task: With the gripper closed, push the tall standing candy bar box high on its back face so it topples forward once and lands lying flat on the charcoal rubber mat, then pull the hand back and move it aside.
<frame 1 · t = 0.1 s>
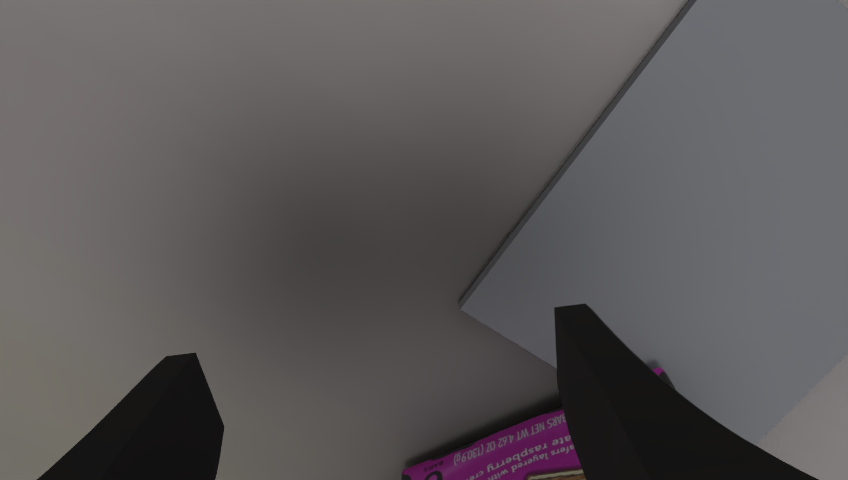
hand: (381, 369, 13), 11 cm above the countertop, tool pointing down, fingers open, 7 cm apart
candy bar box: (544, 452, 27), on the countertop, touching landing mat
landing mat: (730, 234, 24), on the countertop
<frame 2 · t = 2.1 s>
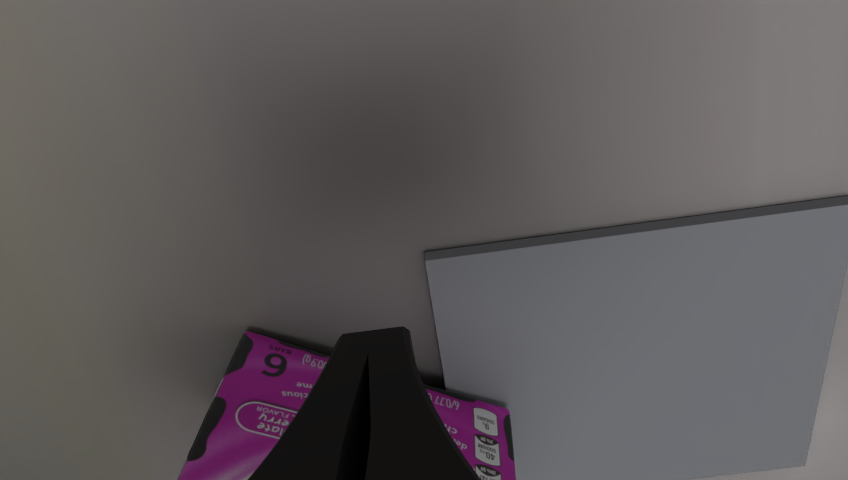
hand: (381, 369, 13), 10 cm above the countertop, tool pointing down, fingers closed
candy bar box: (363, 401, 27), on the countertop, touching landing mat
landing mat: (631, 364, 27), on the countertop
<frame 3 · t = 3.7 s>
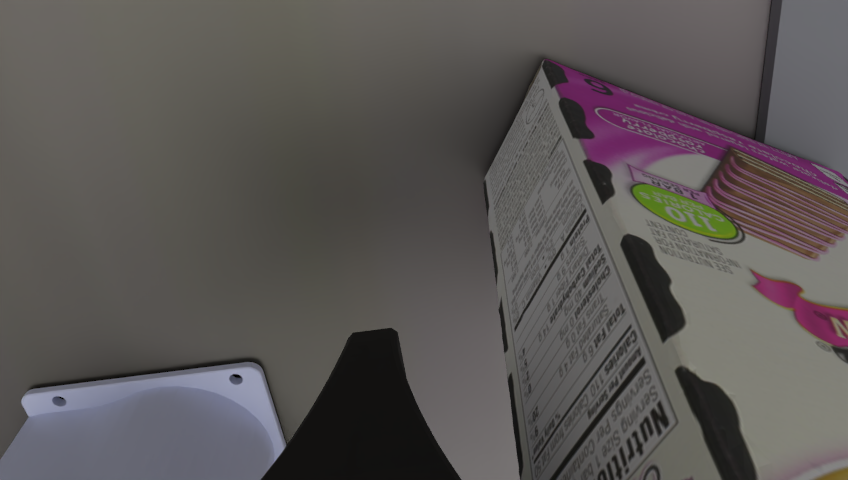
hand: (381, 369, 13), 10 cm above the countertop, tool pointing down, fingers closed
candy bar box: (656, 168, 23), on the countertop, touching gripper, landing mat
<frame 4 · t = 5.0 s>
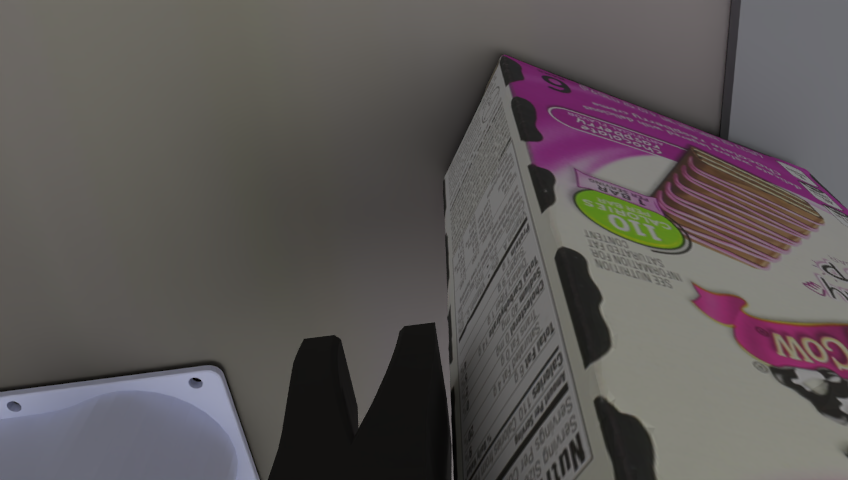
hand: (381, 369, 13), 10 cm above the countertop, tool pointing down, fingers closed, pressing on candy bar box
candy bar box: (621, 166, 22), point 1 cm above the countertop, touching gripper, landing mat
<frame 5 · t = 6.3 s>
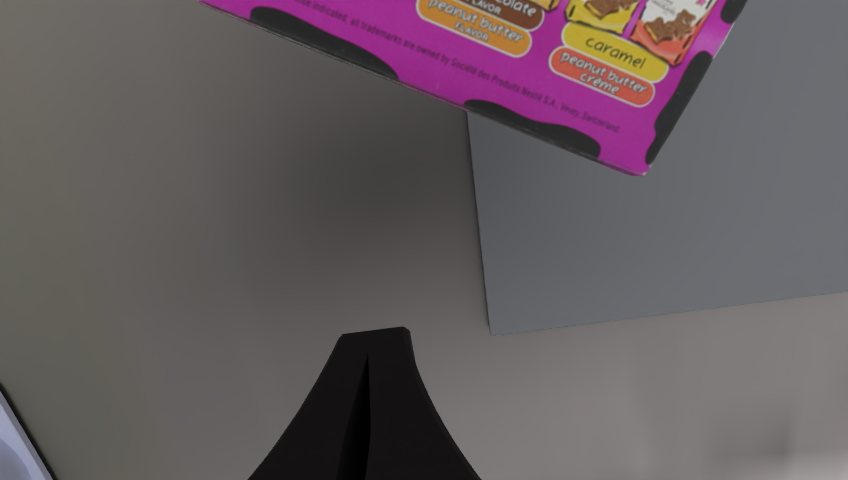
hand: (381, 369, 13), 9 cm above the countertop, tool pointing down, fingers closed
candy bar box: (419, 81, 17), point 3 cm above the countertop, touching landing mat
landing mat: (707, 133, 21), on the countertop
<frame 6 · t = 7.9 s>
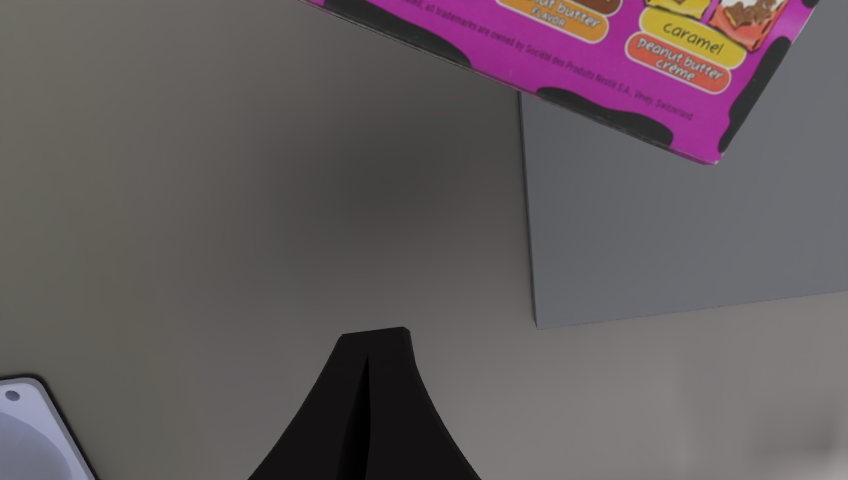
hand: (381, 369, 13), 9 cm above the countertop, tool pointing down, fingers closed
candy bar box: (482, 70, 17), point 3 cm above the countertop, touching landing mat
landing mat: (762, 123, 21), on the countertop
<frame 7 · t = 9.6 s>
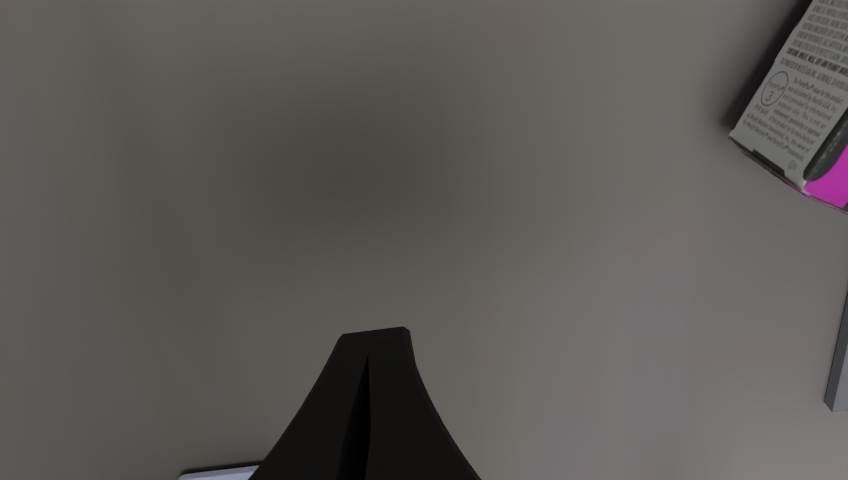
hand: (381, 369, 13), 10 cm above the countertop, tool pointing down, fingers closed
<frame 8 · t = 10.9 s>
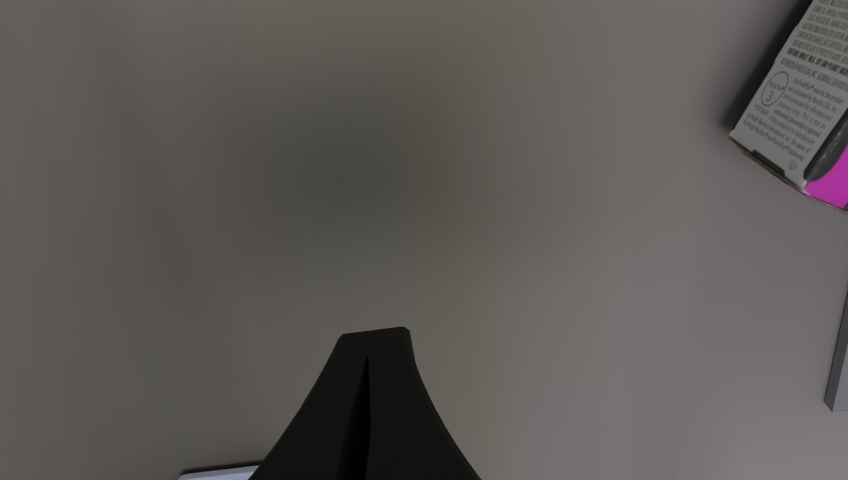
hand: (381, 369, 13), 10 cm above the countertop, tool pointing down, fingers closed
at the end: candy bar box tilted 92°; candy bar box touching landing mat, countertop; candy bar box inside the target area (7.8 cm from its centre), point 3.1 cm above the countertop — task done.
